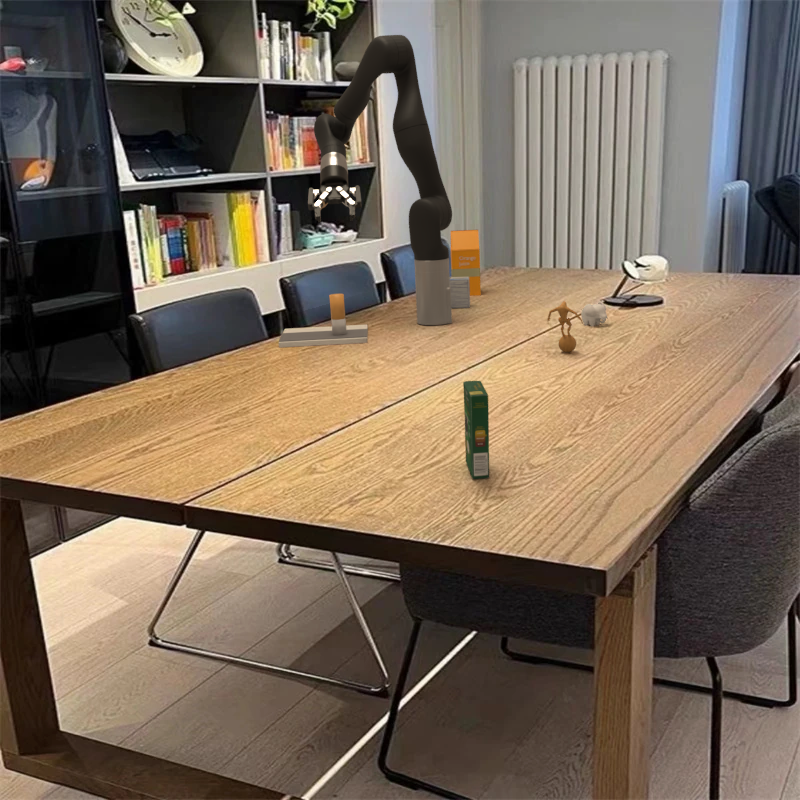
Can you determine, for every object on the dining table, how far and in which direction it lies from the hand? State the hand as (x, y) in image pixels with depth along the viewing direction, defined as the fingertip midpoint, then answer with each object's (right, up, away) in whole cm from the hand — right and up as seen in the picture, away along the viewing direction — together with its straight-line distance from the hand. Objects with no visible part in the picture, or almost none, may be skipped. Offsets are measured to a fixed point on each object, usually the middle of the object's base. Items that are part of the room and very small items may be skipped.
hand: (335, 219), depth 255 cm
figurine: (+55, -38, -38) cm, 76 cm away
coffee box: (+29, -59, -110) cm, 128 cm away
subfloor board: (-2, -32, -8) cm, 33 cm away
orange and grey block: (+2, -31, -11) cm, 33 cm away
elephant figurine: (+67, -29, -8) cm, 73 cm away
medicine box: (+34, -21, +27) cm, 48 cm away
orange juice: (+38, -15, +49) cm, 64 cm away
